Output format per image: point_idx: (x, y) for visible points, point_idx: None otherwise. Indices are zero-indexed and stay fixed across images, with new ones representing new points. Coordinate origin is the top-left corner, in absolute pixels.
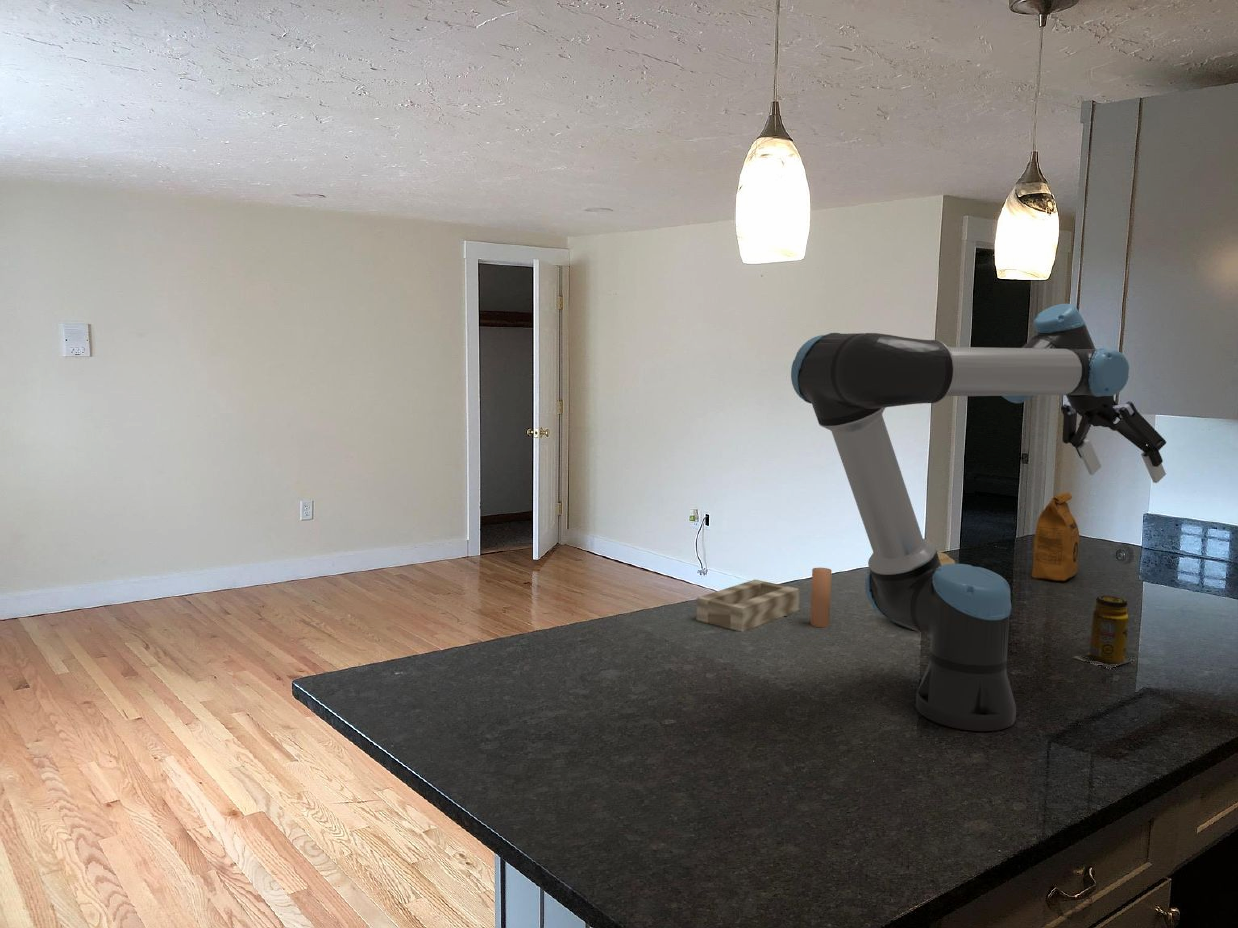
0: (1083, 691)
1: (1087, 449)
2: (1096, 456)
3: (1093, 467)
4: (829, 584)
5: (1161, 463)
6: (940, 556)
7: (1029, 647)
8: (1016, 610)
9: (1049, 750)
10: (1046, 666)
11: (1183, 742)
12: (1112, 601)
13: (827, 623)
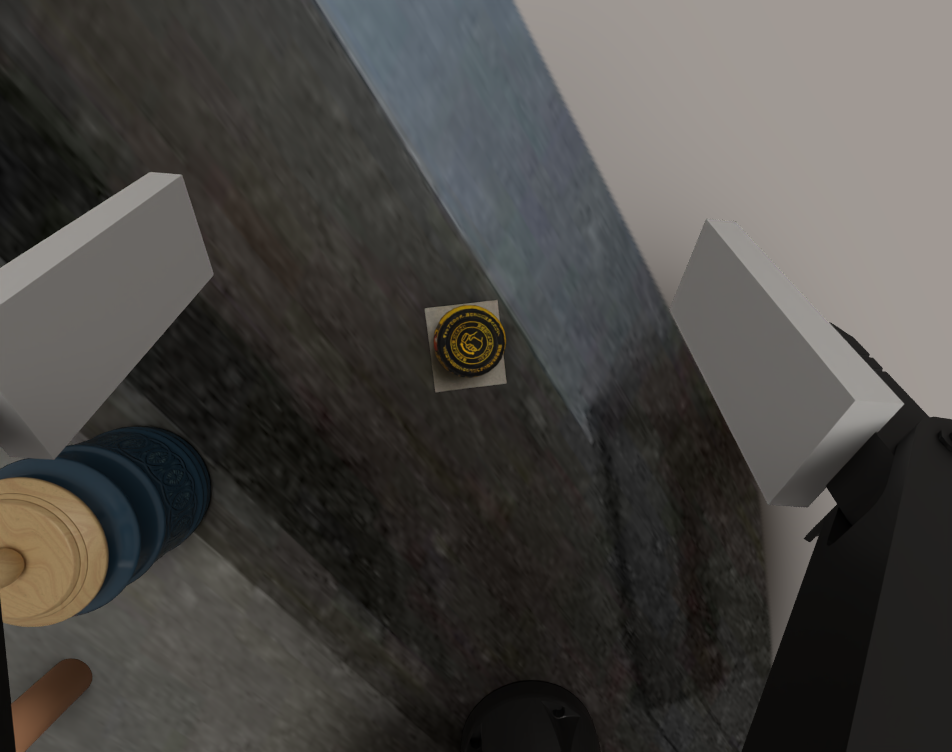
0: (552, 517)
1: (65, 355)
2: (120, 221)
3: (184, 268)
4: None
5: (780, 271)
6: (48, 546)
7: (354, 412)
8: None
9: (664, 732)
10: (443, 472)
11: (736, 558)
12: (483, 358)
13: (86, 677)
